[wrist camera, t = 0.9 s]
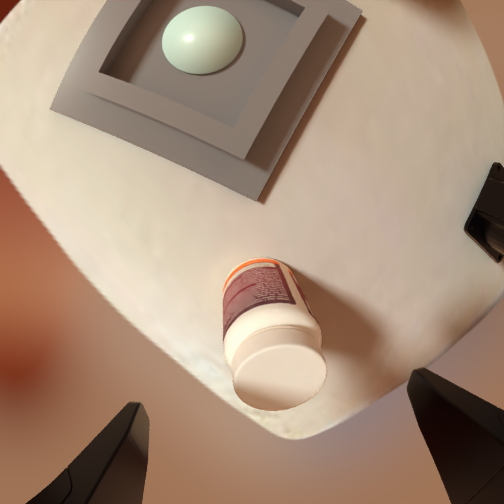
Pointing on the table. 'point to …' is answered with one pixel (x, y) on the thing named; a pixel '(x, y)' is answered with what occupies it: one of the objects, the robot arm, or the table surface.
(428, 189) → the table surface
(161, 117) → the grey flat square tray
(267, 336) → the pill bottle
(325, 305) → the table surface
